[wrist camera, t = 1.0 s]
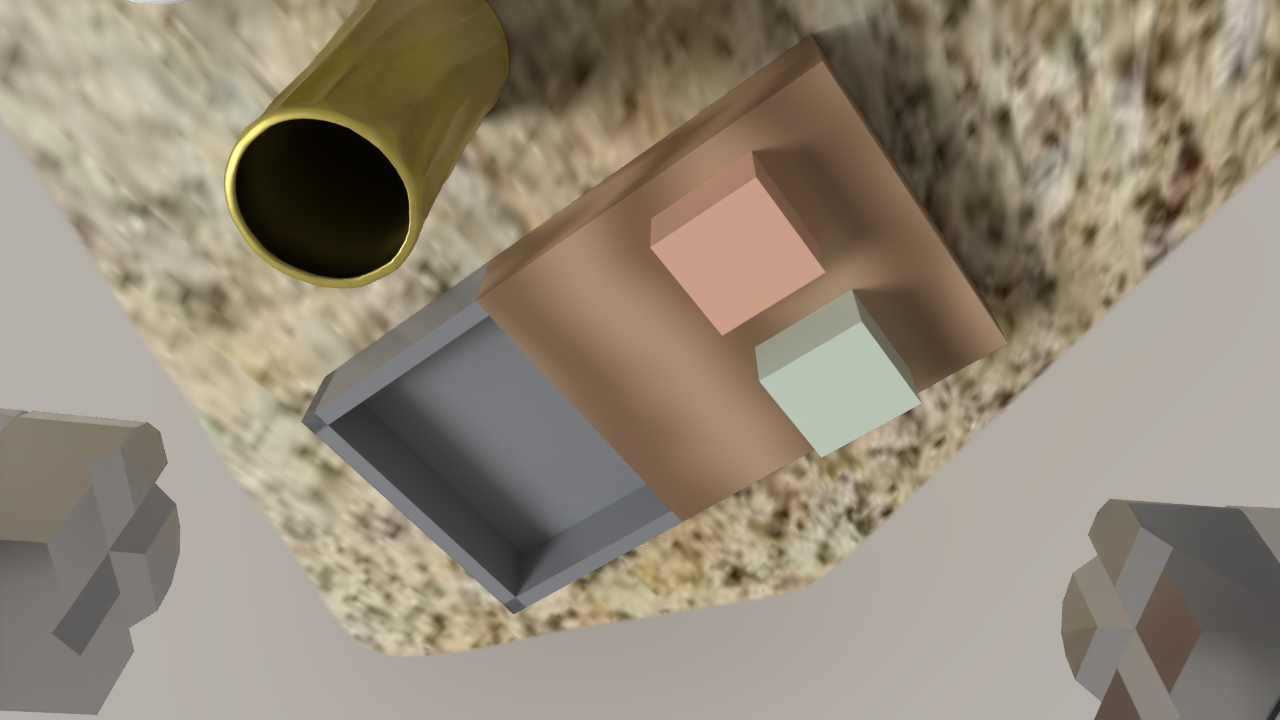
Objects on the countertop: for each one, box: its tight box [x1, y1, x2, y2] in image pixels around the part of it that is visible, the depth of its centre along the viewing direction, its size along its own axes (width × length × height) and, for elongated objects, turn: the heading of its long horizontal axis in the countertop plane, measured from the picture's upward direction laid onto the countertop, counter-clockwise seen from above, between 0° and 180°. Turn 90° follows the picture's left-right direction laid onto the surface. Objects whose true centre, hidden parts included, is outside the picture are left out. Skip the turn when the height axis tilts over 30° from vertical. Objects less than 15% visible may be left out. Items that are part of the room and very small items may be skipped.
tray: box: [302, 262, 682, 614], centre depth 47 cm, size 10×14×4 cm
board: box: [476, 35, 1008, 522], centre depth 43 cm, size 16×14×4 cm
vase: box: [224, 0, 509, 288], centre depth 34 cm, size 6×6×14 cm
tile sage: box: [755, 290, 921, 458], centre depth 41 cm, size 4×4×2 cm
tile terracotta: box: [650, 151, 826, 335], centre depth 38 cm, size 4×4×2 cm
